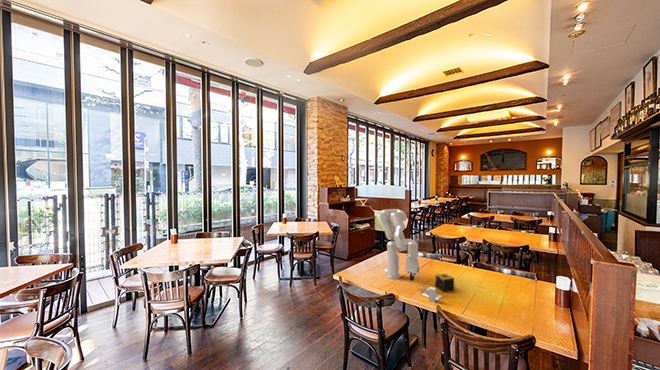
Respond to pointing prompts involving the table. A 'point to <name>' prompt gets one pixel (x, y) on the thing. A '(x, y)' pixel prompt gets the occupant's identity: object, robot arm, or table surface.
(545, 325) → the table surface
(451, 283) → the candle
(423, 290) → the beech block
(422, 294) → the mat
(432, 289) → the bluegrey block
